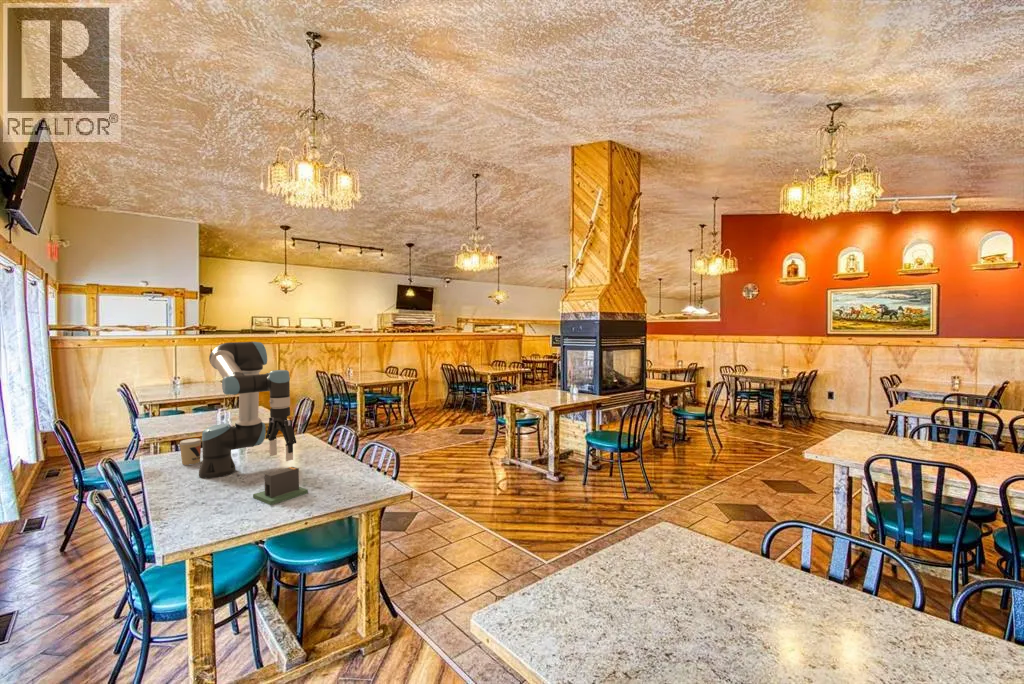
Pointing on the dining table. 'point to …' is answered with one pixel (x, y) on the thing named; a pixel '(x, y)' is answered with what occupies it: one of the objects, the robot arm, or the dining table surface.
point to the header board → (279, 498)
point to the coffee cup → (190, 451)
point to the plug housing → (281, 481)
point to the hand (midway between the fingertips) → (281, 457)
